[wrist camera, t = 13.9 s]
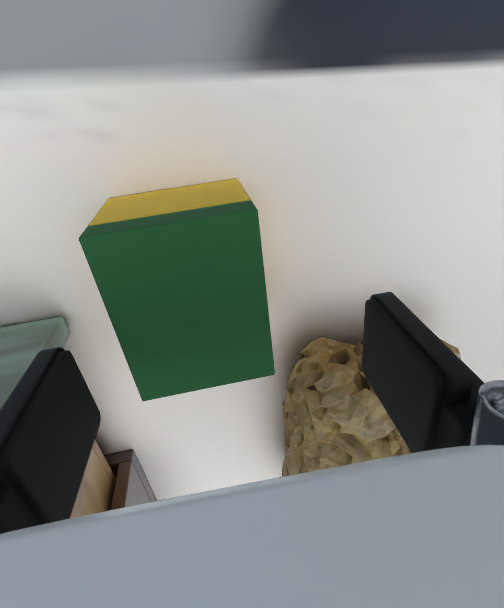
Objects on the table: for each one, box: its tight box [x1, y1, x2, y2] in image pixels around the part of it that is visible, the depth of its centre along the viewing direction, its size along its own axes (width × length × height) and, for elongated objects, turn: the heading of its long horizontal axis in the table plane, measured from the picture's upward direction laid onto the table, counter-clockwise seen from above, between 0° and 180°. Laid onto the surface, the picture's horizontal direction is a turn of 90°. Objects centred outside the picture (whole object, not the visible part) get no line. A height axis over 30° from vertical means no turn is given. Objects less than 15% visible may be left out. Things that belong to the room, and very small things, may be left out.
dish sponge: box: [79, 179, 275, 401], centre depth 15 cm, size 6×7×5 cm
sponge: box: [282, 337, 461, 477], centre depth 22 cm, size 13×8×20 cm
